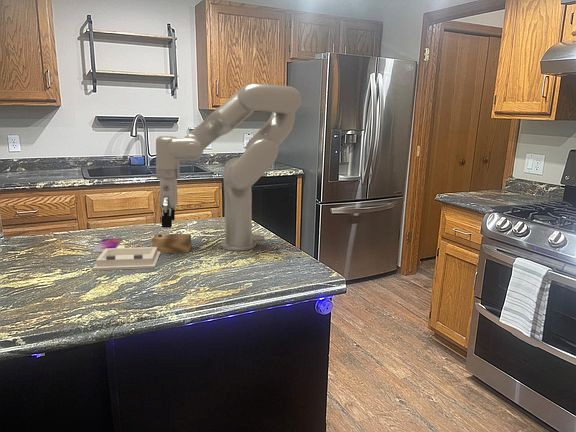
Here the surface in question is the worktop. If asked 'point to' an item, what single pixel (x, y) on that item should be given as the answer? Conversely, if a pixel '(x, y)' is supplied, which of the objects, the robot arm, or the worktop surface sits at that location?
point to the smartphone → (106, 245)
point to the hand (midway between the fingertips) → (168, 223)
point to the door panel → (172, 242)
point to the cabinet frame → (127, 258)
